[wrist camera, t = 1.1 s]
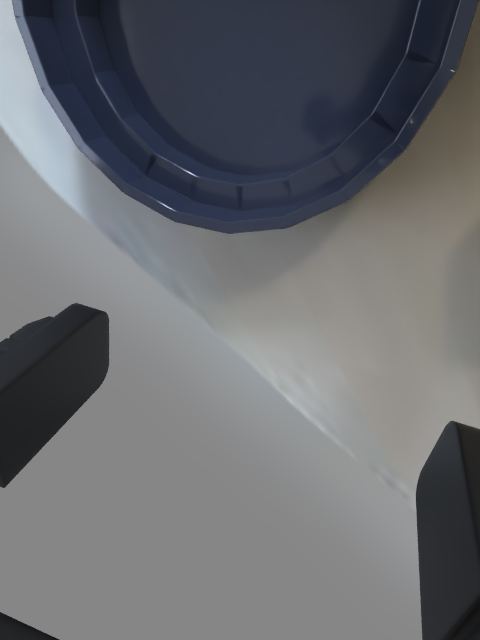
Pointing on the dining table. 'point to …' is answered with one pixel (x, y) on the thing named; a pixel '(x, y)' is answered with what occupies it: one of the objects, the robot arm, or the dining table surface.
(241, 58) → the bowl
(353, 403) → the dining table surface
